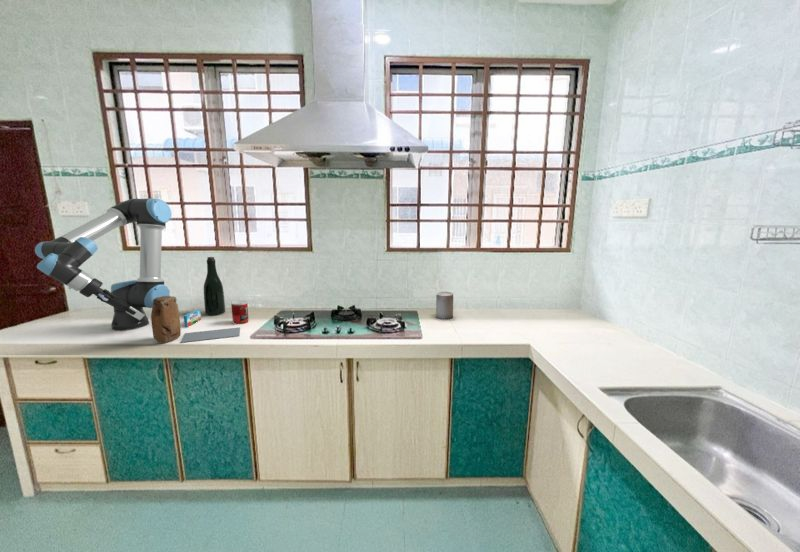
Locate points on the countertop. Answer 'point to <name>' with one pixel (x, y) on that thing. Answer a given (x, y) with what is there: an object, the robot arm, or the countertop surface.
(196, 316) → the blue snack box
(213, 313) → the beer bottle
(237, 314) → the canned food
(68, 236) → the robot arm
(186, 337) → the mat
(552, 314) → the countertop surface
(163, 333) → the brown lumpy oval piece
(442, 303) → the pillar candle
